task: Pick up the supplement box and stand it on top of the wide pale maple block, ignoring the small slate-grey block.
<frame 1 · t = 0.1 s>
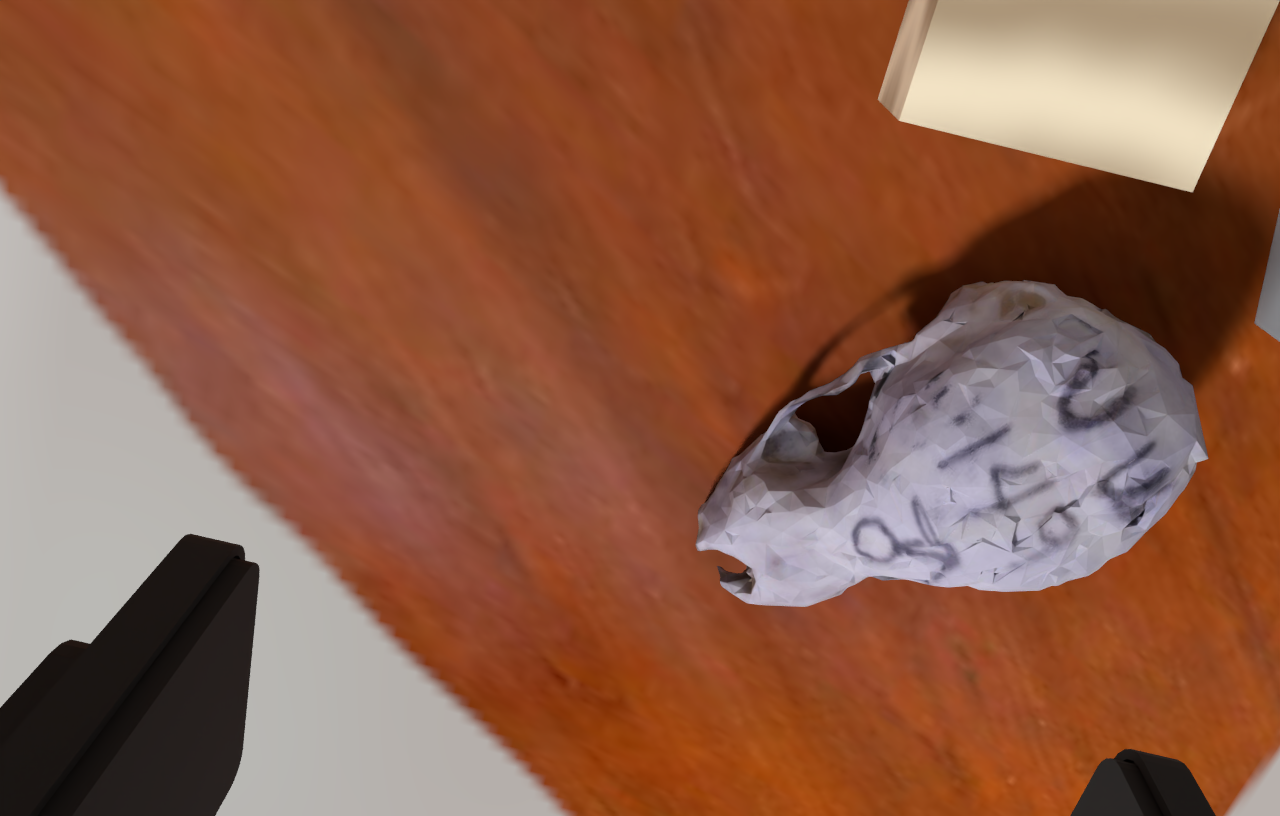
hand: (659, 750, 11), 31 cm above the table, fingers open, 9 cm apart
skull: (896, 416, 44), on the table
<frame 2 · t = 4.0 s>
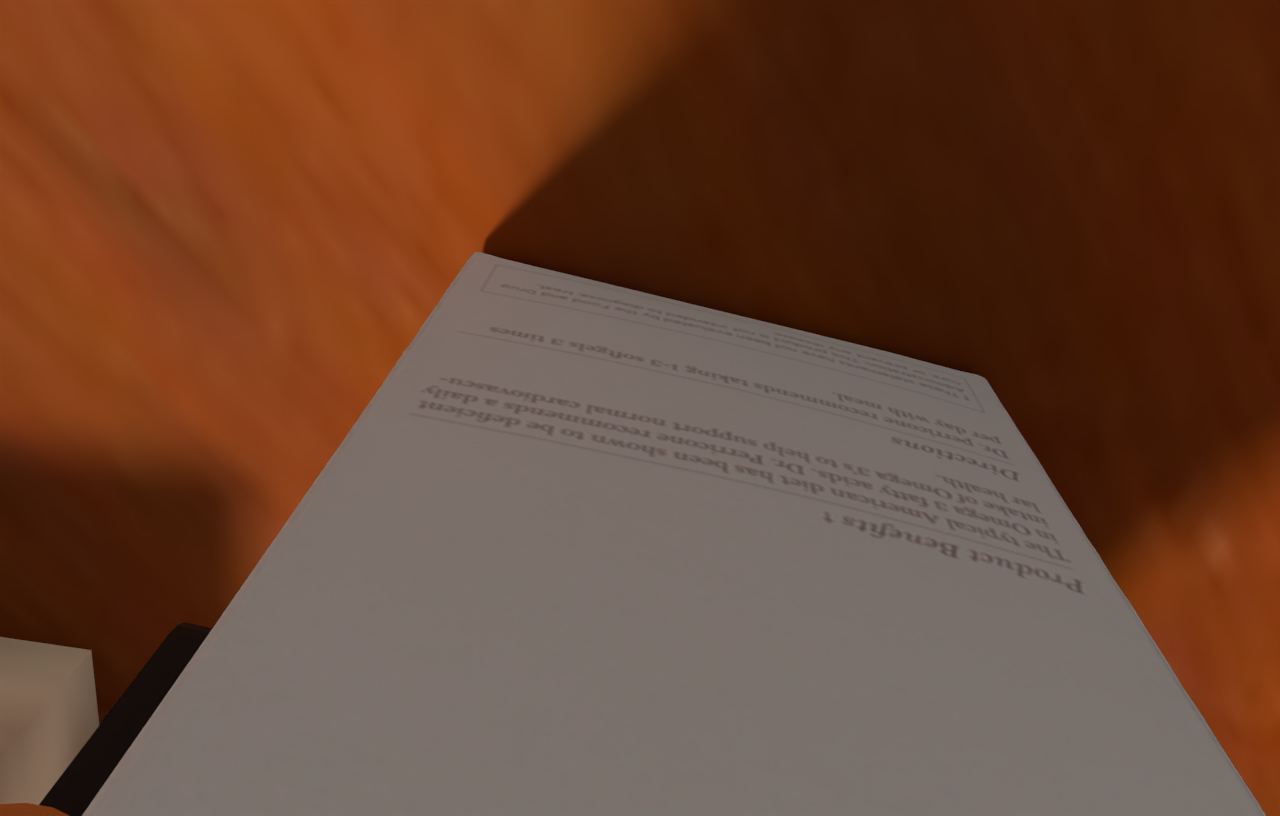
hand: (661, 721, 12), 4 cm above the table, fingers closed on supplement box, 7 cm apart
supplement box: (673, 529, 16), on the table, touching gripper
when the fingers open (10 cm above the table, at t = 8.9 s): supplement box drops 1 cm, resting on maple block.
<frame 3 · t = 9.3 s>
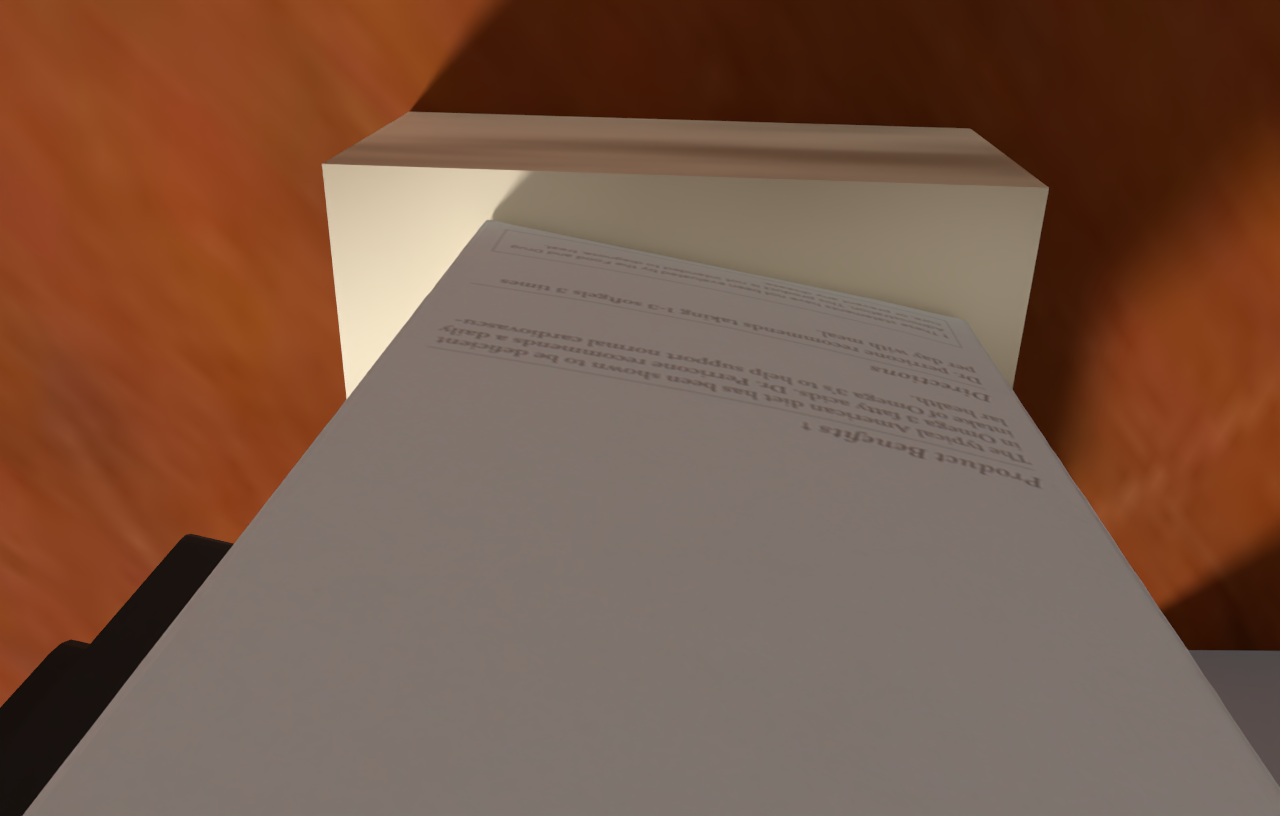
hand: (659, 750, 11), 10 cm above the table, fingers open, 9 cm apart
maple block: (677, 372, 21), on the table, touching supplement box
slate block: (1211, 755, 24), on the table
supplement box: (681, 477, 17), point 4 cm above the table, touching maple block
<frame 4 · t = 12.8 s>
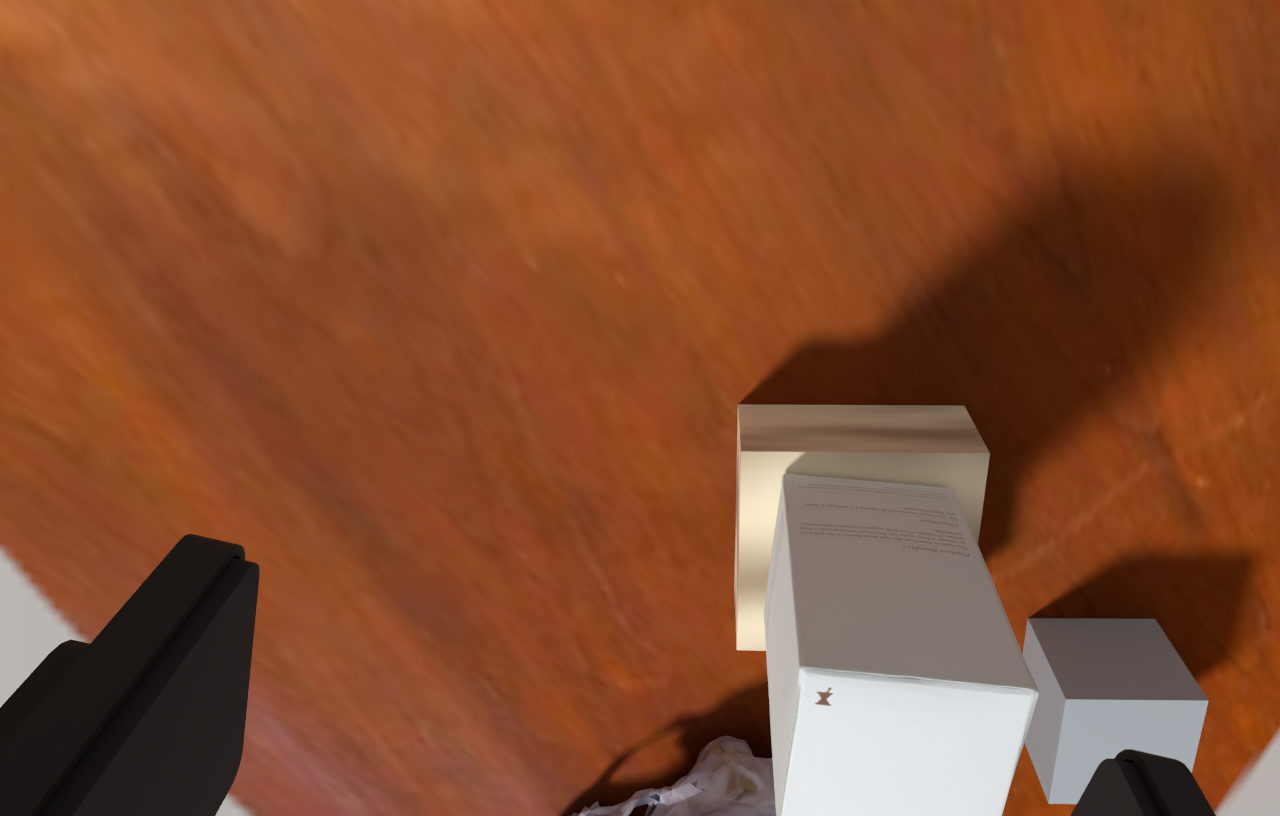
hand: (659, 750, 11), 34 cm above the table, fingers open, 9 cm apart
maple block: (842, 498, 49), on the table, touching supplement box
slate block: (1082, 667, 52), on the table
supplement box: (856, 550, 45), point 4 cm above the table, touching maple block
skull: (677, 804, 58), on the table
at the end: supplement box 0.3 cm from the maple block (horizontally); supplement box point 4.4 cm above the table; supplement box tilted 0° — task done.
